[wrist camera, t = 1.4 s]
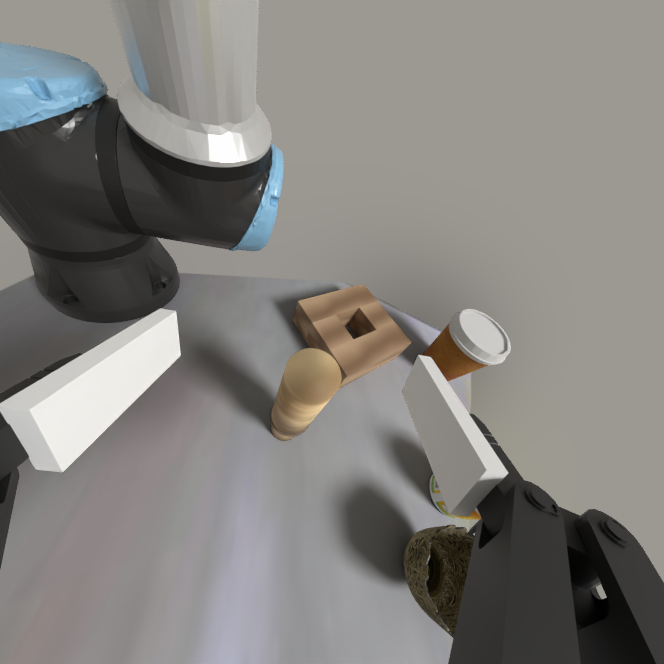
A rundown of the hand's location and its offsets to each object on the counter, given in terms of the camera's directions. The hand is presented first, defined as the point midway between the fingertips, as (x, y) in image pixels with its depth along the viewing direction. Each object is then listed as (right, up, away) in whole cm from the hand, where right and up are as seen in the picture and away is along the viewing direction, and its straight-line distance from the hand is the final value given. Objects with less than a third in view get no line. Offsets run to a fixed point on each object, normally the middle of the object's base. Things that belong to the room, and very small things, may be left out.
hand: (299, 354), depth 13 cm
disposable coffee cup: (+21, -6, +31) cm, 38 cm away
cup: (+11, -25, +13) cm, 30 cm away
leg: (-4, -11, +17) cm, 21 cm away
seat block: (+4, 0, +29) cm, 29 cm away
